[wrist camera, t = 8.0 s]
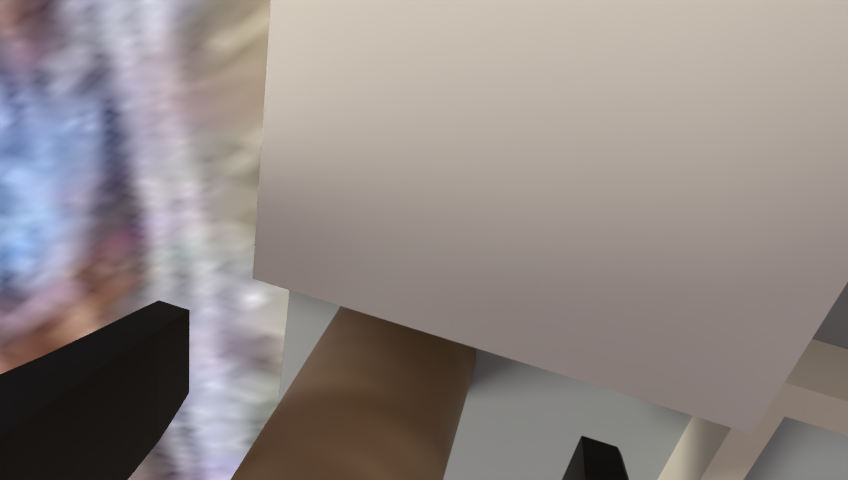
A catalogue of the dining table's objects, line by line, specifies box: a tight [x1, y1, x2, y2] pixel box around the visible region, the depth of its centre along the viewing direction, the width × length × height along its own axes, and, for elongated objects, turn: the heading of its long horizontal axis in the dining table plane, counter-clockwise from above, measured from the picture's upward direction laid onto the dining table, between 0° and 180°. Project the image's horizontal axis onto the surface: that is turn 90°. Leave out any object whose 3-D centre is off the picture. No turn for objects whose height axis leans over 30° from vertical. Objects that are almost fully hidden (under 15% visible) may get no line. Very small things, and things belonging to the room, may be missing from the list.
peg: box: [231, 306, 476, 480], centre depth 11 cm, size 3×3×6 cm
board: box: [278, 282, 848, 480], centre depth 11 cm, size 18×14×3 cm
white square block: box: [253, 0, 848, 434], centre depth 8 cm, size 6×6×4 cm
